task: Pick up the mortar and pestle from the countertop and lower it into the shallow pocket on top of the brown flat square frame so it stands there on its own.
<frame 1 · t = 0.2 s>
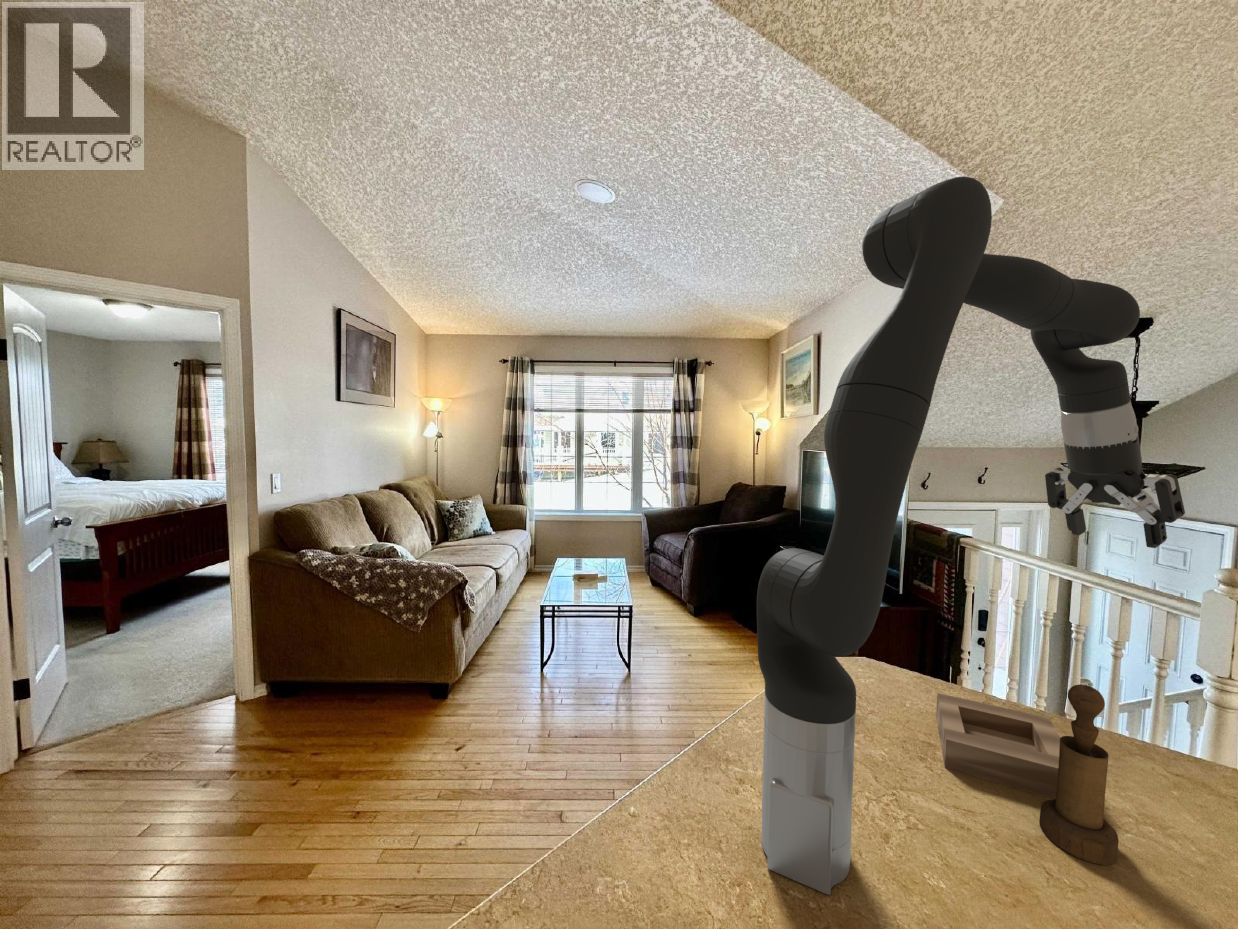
hand: (1115, 539, 71), 31 cm above the countertop, tool tilted 20°, fingers open, 8 cm apart
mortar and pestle: (1076, 841, 55), on the countertop
brown flat square frame: (997, 758, 70), on the countertop
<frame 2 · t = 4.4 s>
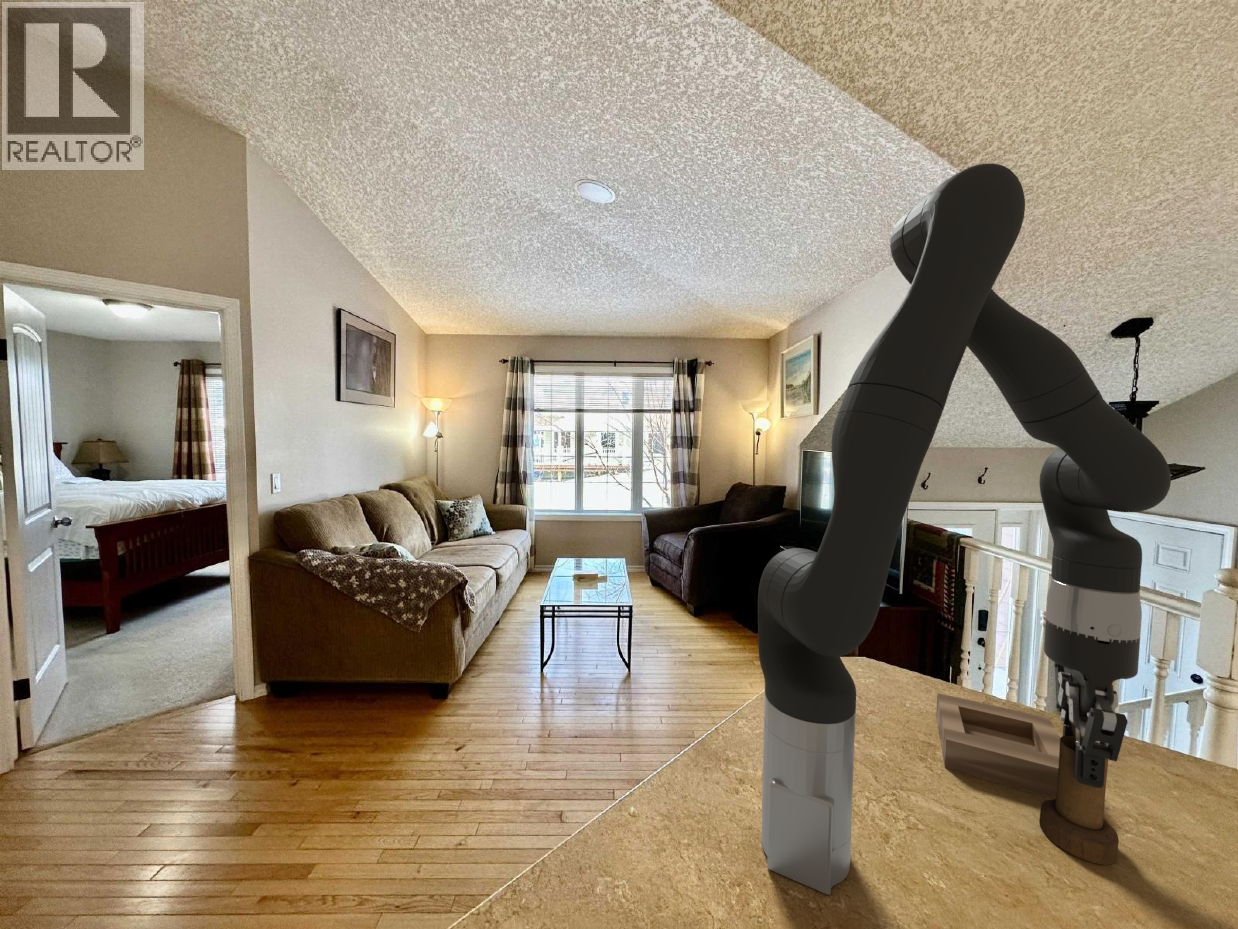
hand: (1081, 770, 55), 8 cm above the countertop, tool pointing down, fingers closed on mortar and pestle, 4 cm apart
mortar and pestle: (1076, 841, 55), on the countertop, touching gripper
everything else where it was.
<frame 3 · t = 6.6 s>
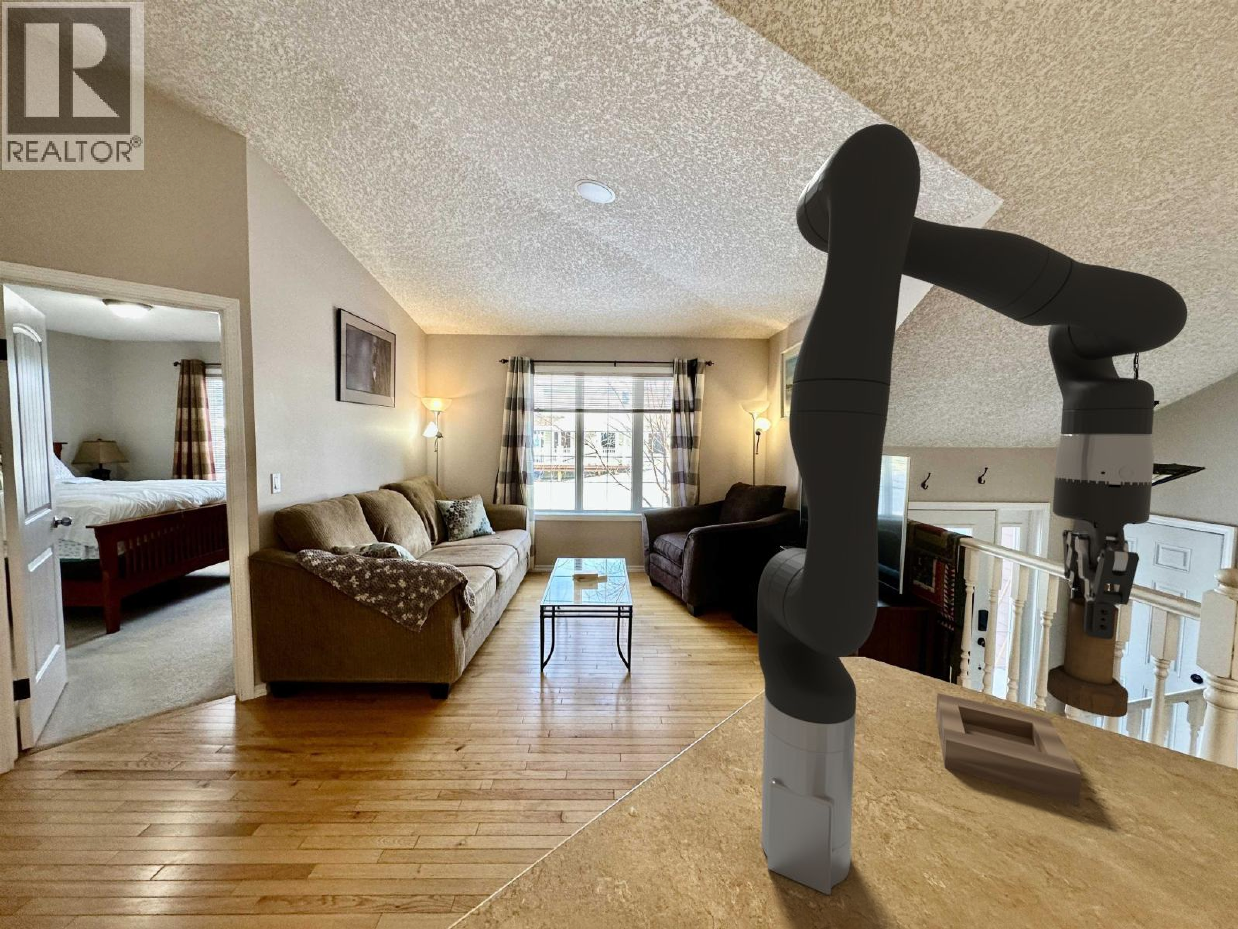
hand: (1090, 629, 54), 25 cm above the countertop, tool pointing down, fingers closed on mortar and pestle, 4 cm apart
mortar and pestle: (1085, 702, 54), point 16 cm above the countertop, touching gripper
everything else where it was.
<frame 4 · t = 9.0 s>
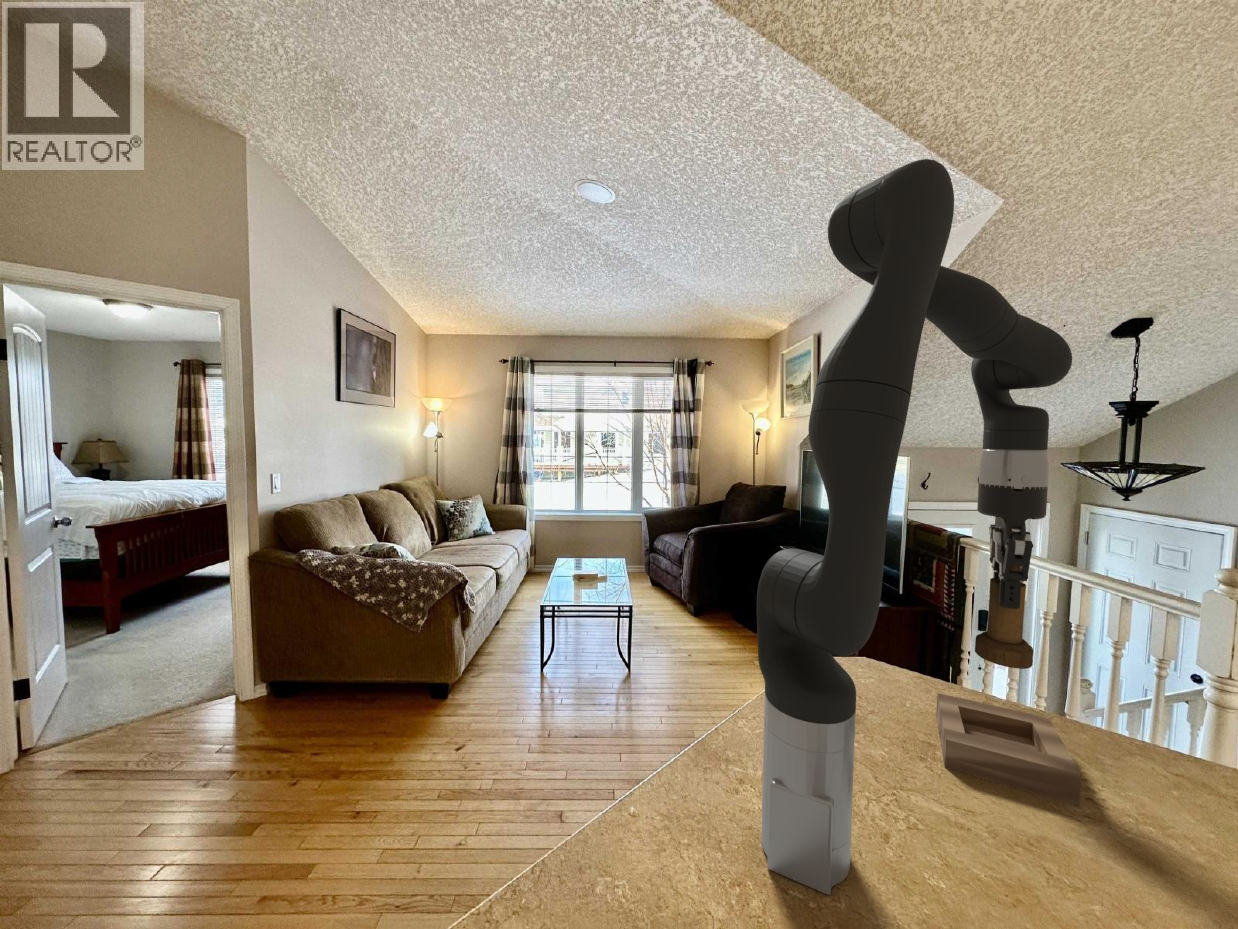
hand: (1005, 601, 68), 23 cm above the countertop, tool pointing down, fingers closed on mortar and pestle, 4 cm apart
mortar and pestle: (1002, 659, 69), point 14 cm above the countertop, touching gripper
everything else where it was.
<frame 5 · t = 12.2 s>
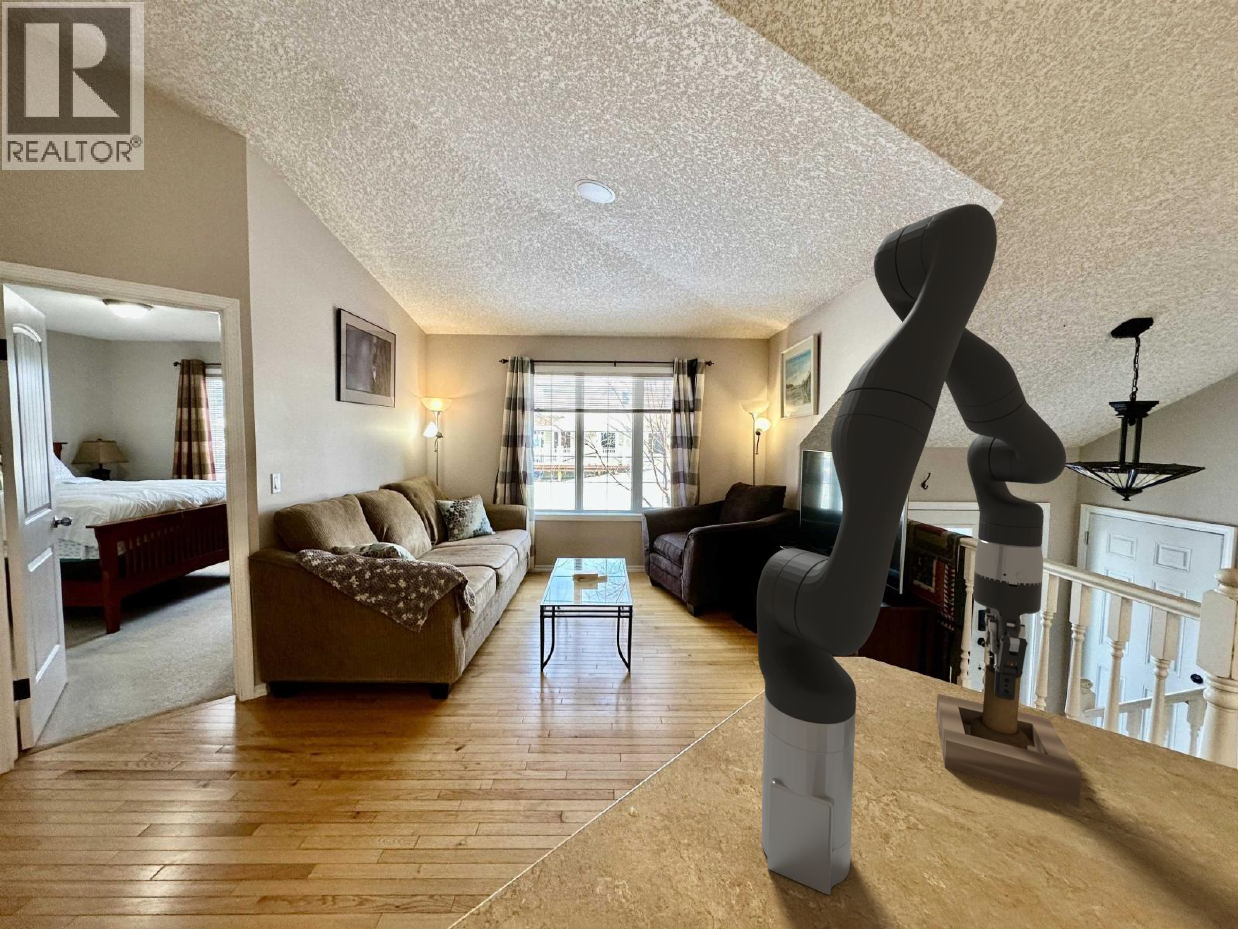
hand: (1000, 690, 69), 10 cm above the countertop, tool pointing down, fingers closed on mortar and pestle, 4 cm apart
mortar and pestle: (997, 746, 70), point 1 cm above the countertop, touching gripper, brown flat square frame
brown flat square frame: (997, 758, 70), on the countertop, touching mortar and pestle
when the fingers open (10 cm above the countertop, at t = 13.4 s): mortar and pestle stays where it is, resting on brown flat square frame.
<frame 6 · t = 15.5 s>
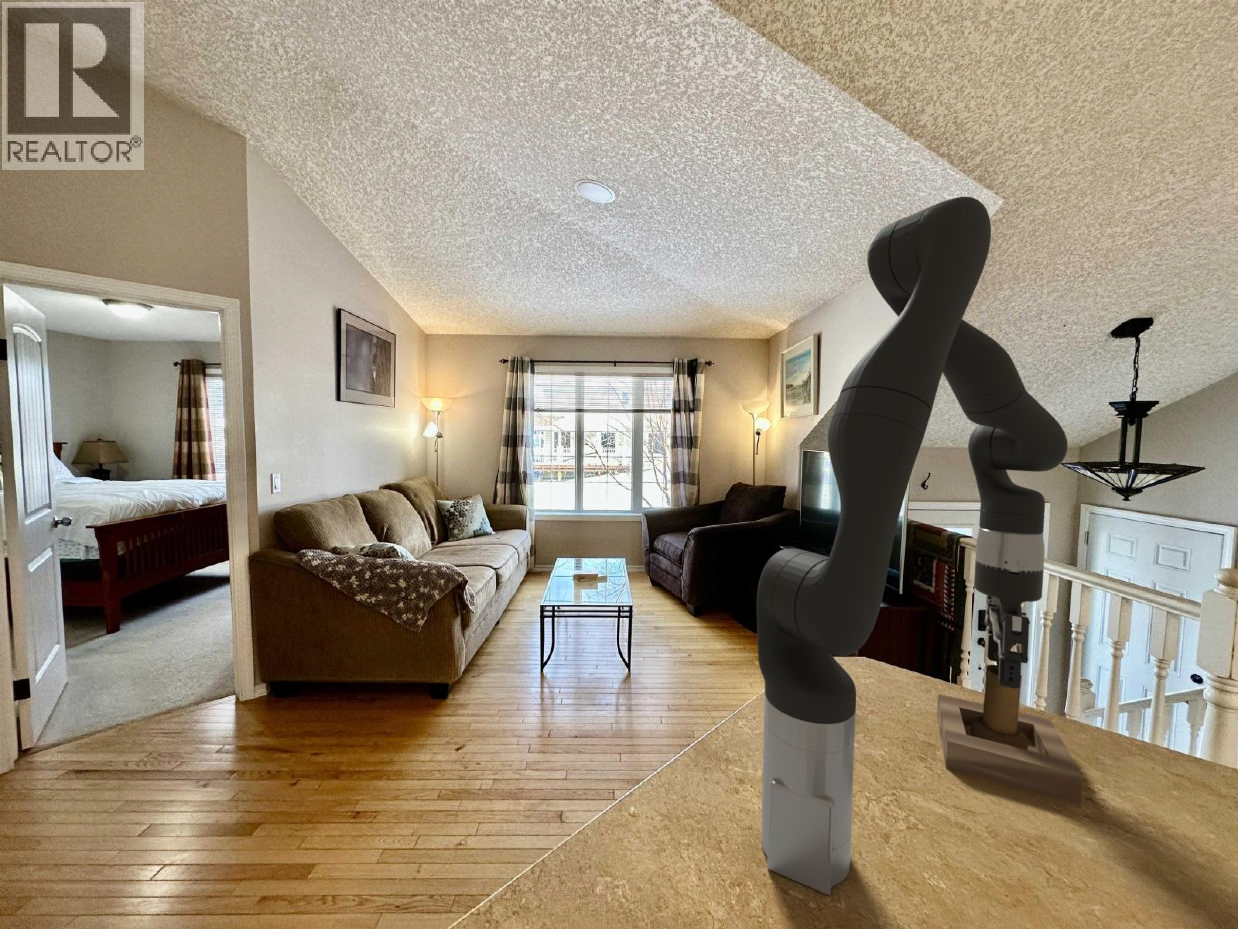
hand: (1002, 673, 69), 12 cm above the countertop, tool pointing down, fingers open, 8 cm apart
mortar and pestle: (998, 746, 70), point 1 cm above the countertop, touching brown flat square frame
everything else where it was.
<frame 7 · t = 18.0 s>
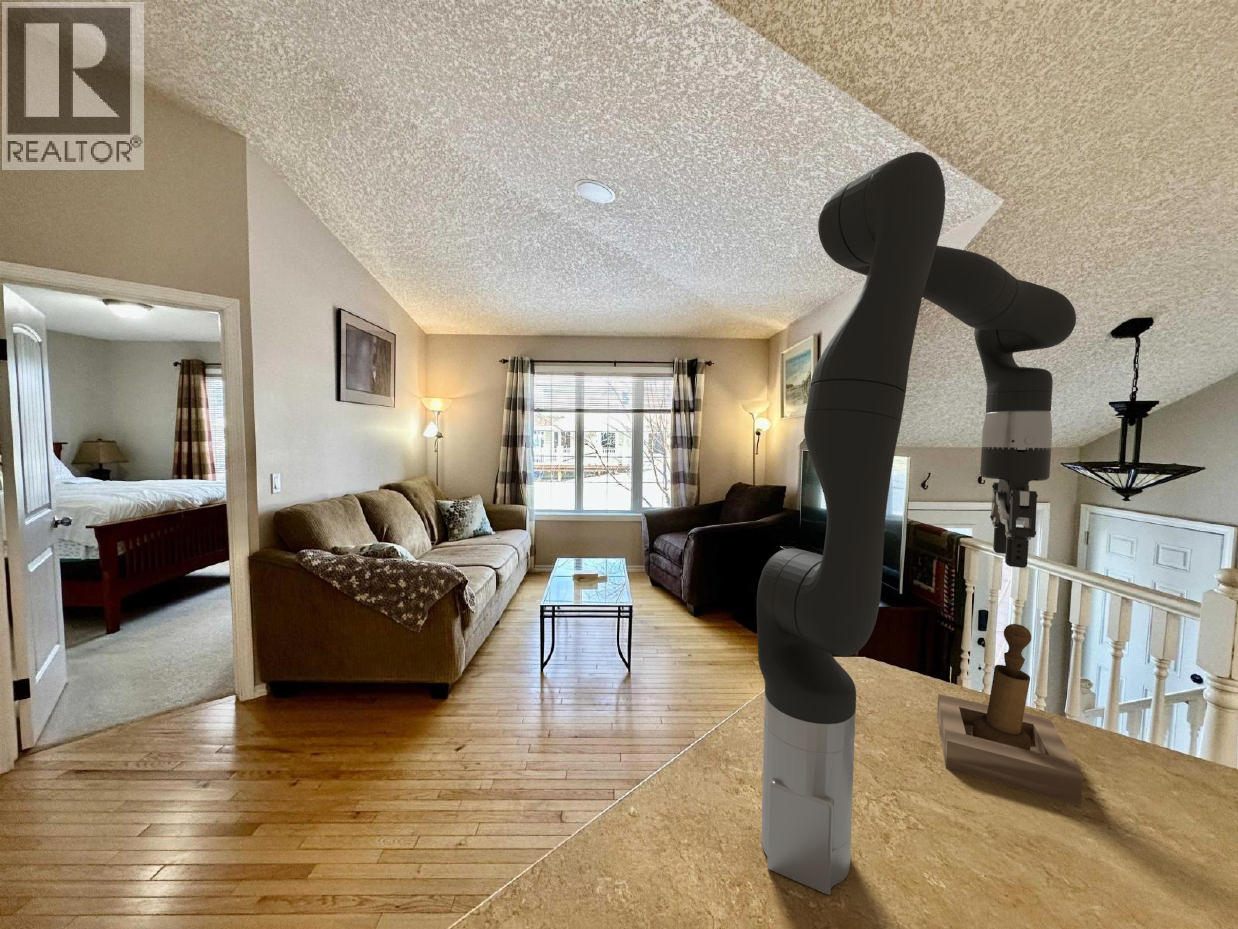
hand: (1008, 559, 68), 29 cm above the countertop, tool pointing down, fingers open, 8 cm apart
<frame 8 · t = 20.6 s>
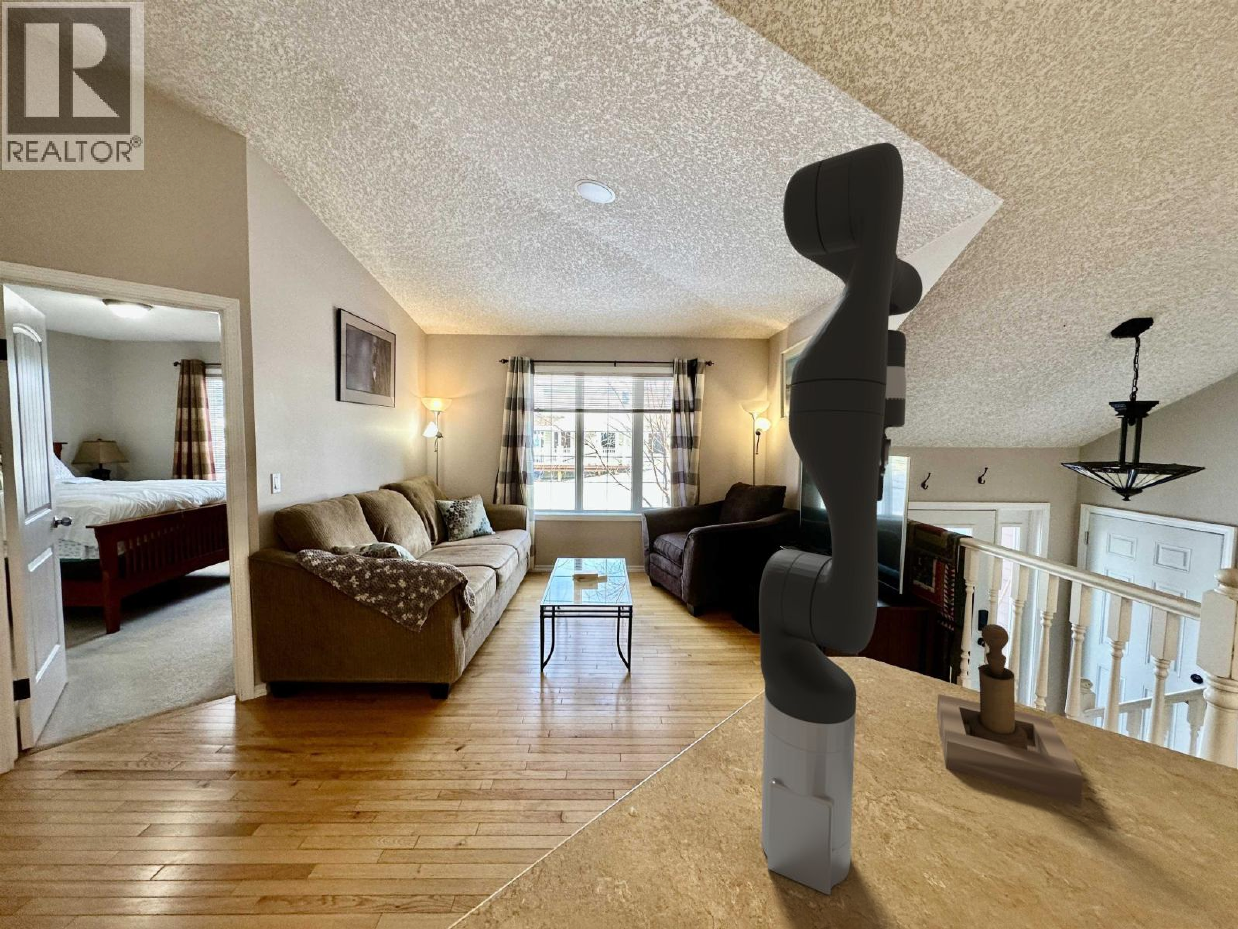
hand: (875, 497, 79), 36 cm above the countertop, tool pointing down, fingers open, 8 cm apart
at the end: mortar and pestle 0.2 cm off-centre on the brown flat square frame, point 2.3 cm above the brown flat square frame's base; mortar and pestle tilted 10°; the gripper is holding nothing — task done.
